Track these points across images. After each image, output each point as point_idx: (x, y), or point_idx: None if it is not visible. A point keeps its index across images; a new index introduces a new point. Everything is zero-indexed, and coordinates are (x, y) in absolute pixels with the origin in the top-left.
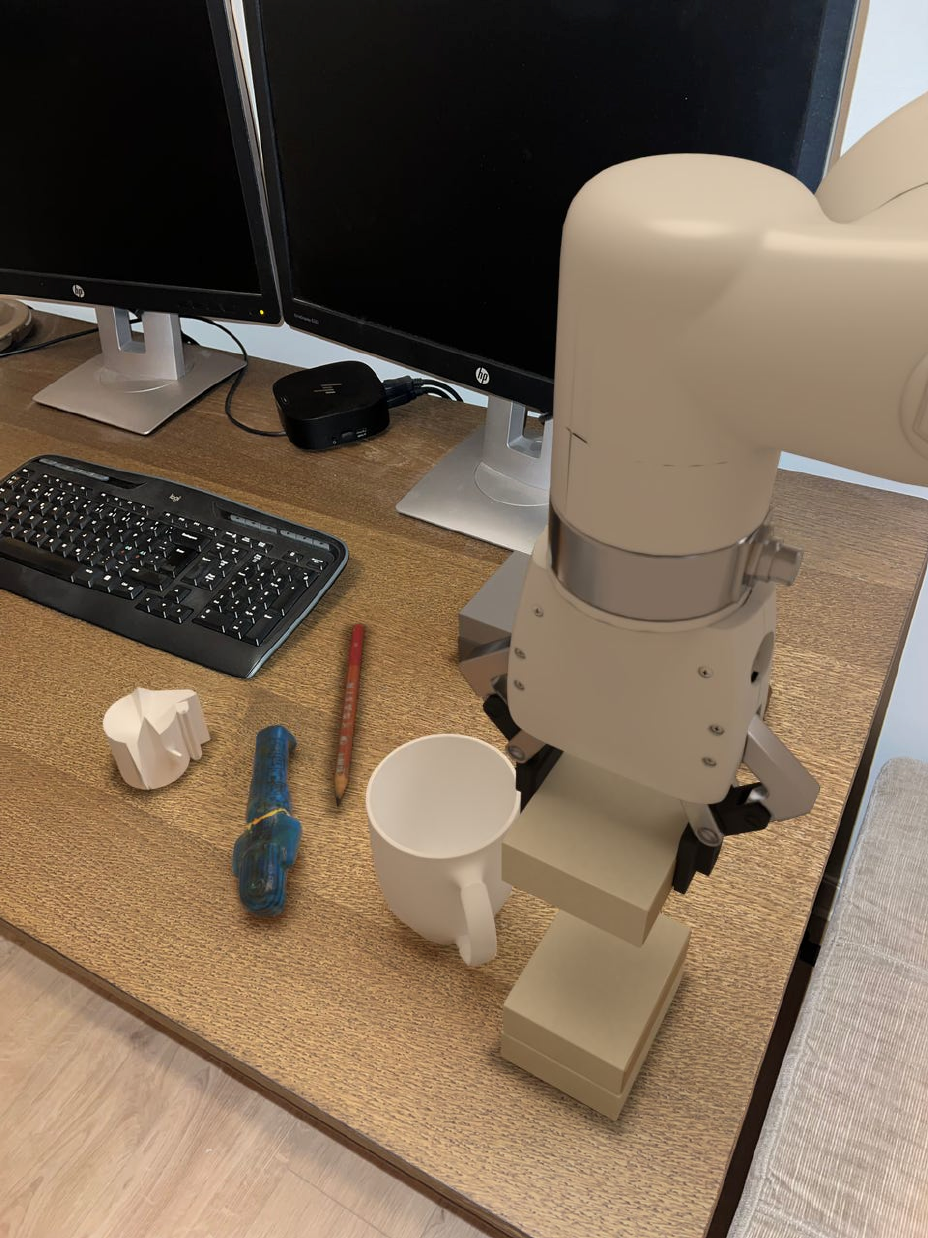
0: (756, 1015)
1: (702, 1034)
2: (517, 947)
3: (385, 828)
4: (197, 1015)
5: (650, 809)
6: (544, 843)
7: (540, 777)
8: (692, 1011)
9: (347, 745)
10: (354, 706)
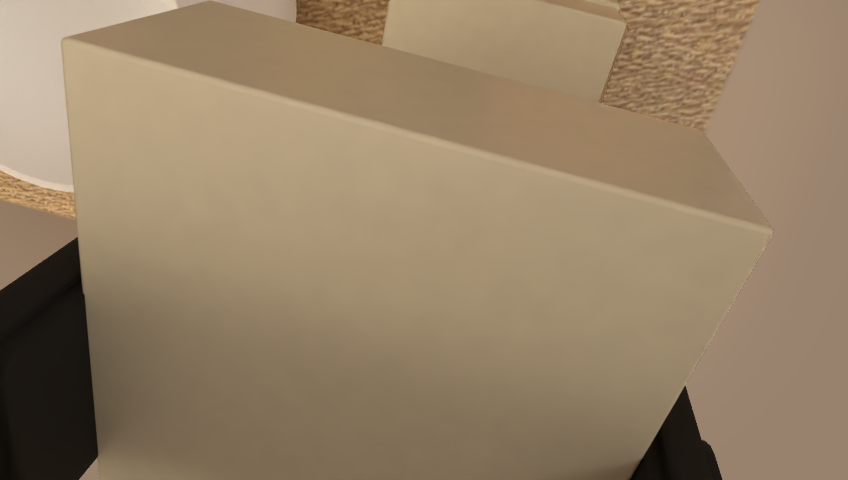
0: (737, 20)
1: (647, 75)
2: (354, 13)
3: (13, 39)
4: (57, 207)
5: (457, 475)
6: None
7: (64, 472)
8: (631, 43)
9: None
10: None
